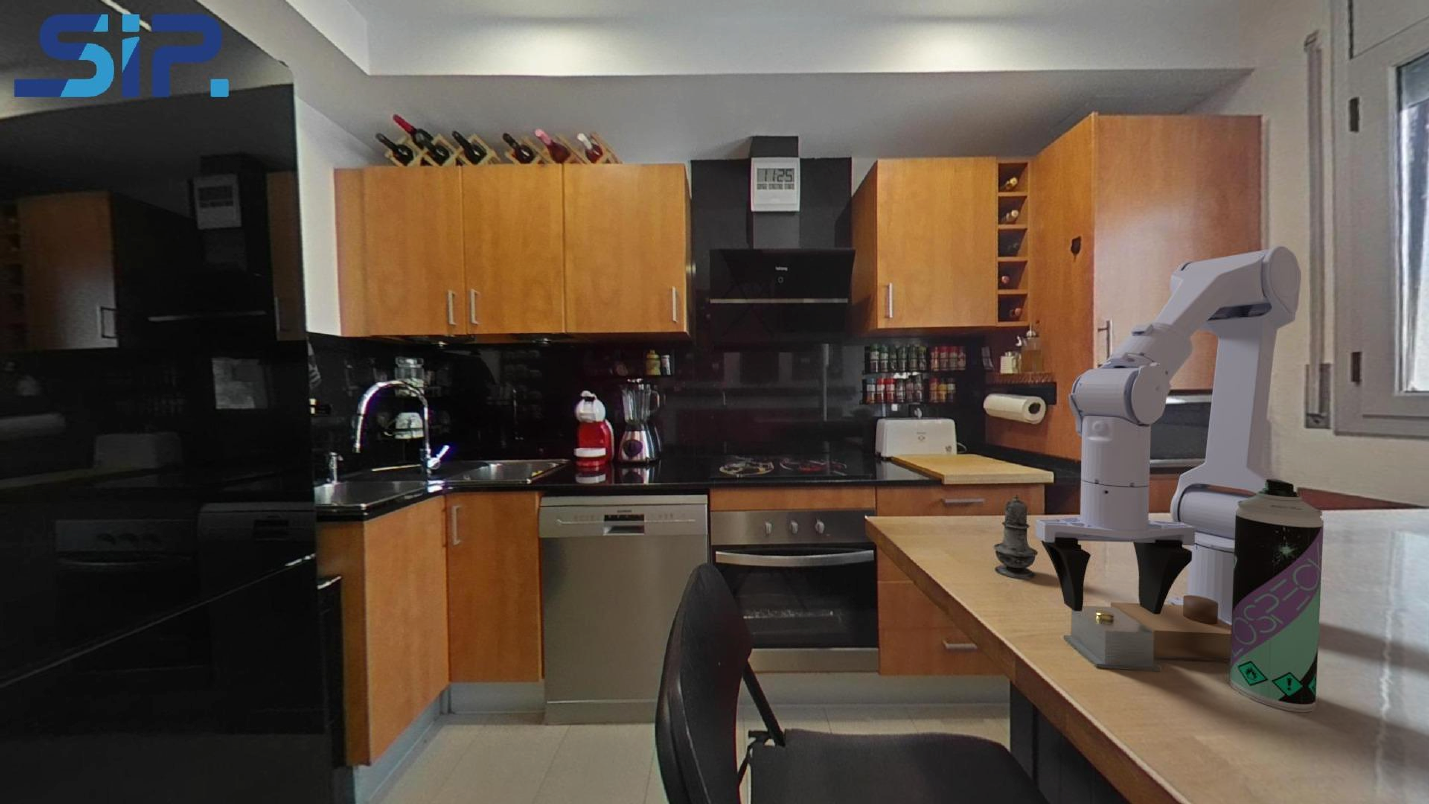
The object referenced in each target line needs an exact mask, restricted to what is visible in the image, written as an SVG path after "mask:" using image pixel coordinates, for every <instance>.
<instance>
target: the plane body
mask: <svg viewBox="0 0 1429 804" xmlns="http://www.w3.org/2000/svg"><path fill="white" fill-rule="evenodd" d="M1182 598H1183V605H1175V604H1165V603H1164V605H1163V607H1162V610H1161V613H1160V614H1153V613H1151V612H1149V611H1148V610H1146V609H1145V608H1143V607H1141V606H1140V602H1138V603H1137V602H1115V601H1110V607H1115V608H1117V609H1118V610H1120V611H1121V612H1123V613H1125V614H1126V615H1128V616H1129V617H1131V618H1132V619H1134V620H1135V621H1137V622H1138V623H1140V624H1141V625H1143V626H1144V627H1146V628H1147V629H1149V630H1150V631H1152V632H1153V633H1154V648H1153V659H1158V660H1162V659H1163V660H1178V661H1179V660H1180V661H1198V662H1199V661H1200V662H1201V661H1202V662H1214V663H1215V662H1218V663H1230V651H1231V625H1230V624H1228V623H1226V622H1224V621H1222V620H1220V619H1219V618H1218V603H1217V602H1215V601H1213V600H1211V599H1208V598H1204V597H1200V596H1193V595H1187V594H1186V595H1184V596H1183V597H1182Z"/></svg>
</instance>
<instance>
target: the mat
mask: <svg viewBox="0 0 1429 804" xmlns="http://www.w3.org/2000/svg"><path fill="white" fill-rule="evenodd" d="M1063 639H1064V640H1065V641H1066V642H1067V643H1068V644H1069V645H1070V644H1071V645H1072V646H1071V645H1070V646H1071V647H1073V648H1074V649H1075V648H1076V649H1075V650H1076V651H1077V650H1078V651H1077V652H1078V653H1079V652H1080V653H1079V654H1081V656H1083V657H1084V659H1086V658H1087V659H1088V660H1089V661H1088V660H1087V659H1086V660H1087V661H1088V662H1090V663H1091V662H1092V663H1091V664H1092V665H1093V664H1094V665H1095V666H1094V665H1093V666H1094V667H1095V668H1096V667H1098V669H1118V670H1119V669H1120V670H1133V671H1134V670H1135V671H1141V670H1142V671H1154V672H1158V671H1159V672H1161V671H1162V669H1161V668H1162V667H1161V666H1160V665H1158V664H1157V663H1156V662H1155V661H1153V667H1141V666H1122V665H1105V664H1103V663H1102V662H1101V661H1100V660H1099V659H1098V658H1096V657H1095V656H1094V655H1093V654H1092V653H1091V652H1089V651H1088V650H1087V649H1086V648H1085V647H1083V646H1082V645H1081V644H1080V643H1079V642H1078V641H1076V640H1075V639H1074V638H1073V637H1072V636H1071V634H1070V635H1069V634H1068V635H1067V634H1063Z"/></svg>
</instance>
